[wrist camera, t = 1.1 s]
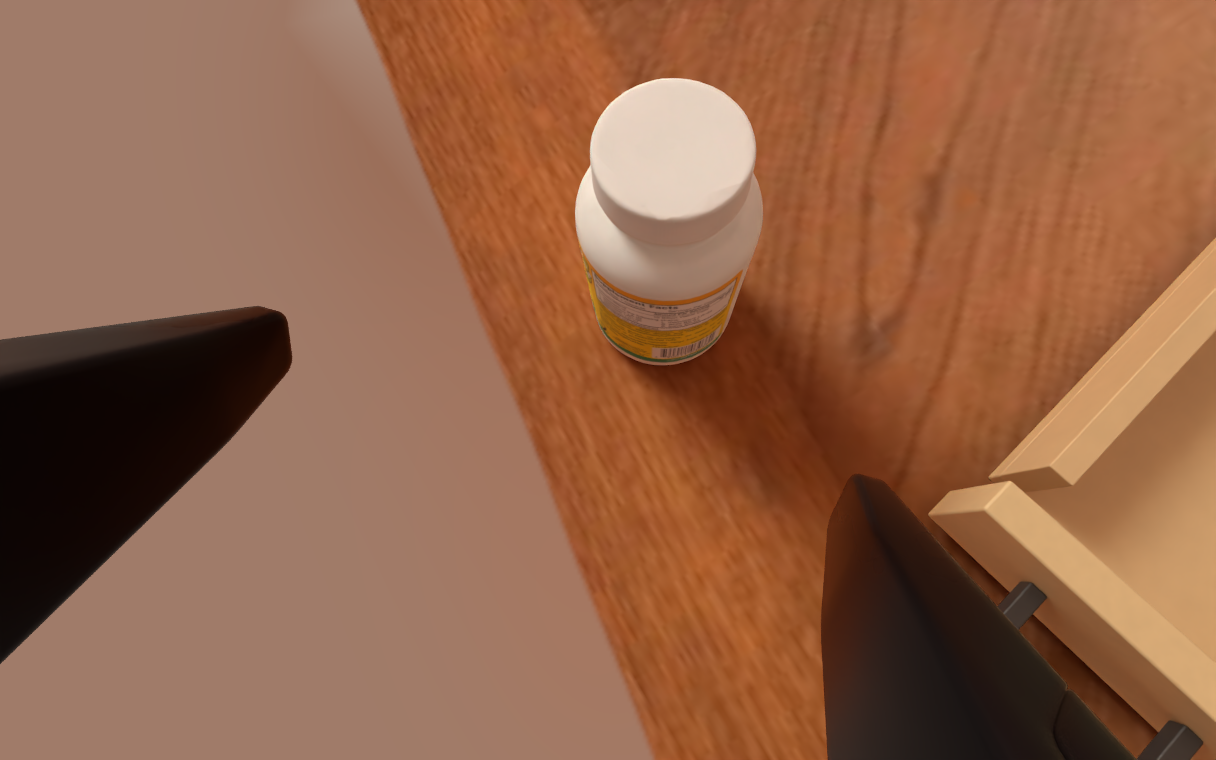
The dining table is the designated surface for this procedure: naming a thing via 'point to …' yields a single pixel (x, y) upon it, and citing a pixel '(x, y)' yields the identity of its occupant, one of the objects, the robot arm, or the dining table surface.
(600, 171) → the supplement bottle
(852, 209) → the dining table surface
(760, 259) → the dining table surface
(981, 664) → the robot arm
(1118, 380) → the drawer
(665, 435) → the dining table surface
